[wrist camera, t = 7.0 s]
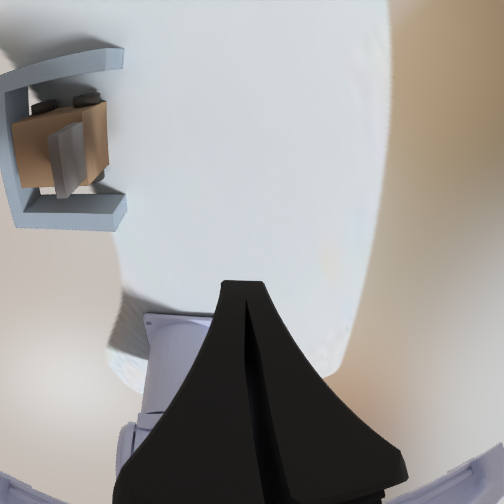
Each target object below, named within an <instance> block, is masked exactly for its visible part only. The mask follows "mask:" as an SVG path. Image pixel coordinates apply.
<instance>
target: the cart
mask: <svg viewBox="0 0 504 504" xmlns="http://www.w3.org/2000/svg"><path fill="white" fill-rule="evenodd" d="M31 110H32V115H30V116H28V117H26V118H23V119H21V120H19V121H17V122H15V123H13V124H11V126H12V135H13V143H14V150H15V156H16V162H17V167H18V173H19V178H20V182H21V187H22V188H35V187H55V191H56V196H57V199H60V198H68V197H69V196H70V195H71V193H72V192H73V191H74V190H75V189H76V188H77V187H78V186H89V185H90V184H92V183H96V182H99V181H101V180H102V179H103V178H104V177H105V175H104V169H105V168H106V167H107V166H108V165H109V156H108V141H107V115H106V101H104V102H100V93H91V94H85V95H80V96H76V97H73V105H72V106H65V107H59V108H55V99H54V100H48V101H44V102H40V103H37V104H34V105H32V106H31Z"/></svg>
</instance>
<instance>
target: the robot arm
mask: <svg viewBox="0 0 504 504" xmlns="http://www.w3.org/2000/svg"><path fill="white" fill-rule="evenodd" d="M143 321H144V326H145V330H146V334H147V338H148V341H149V345H150V354H149V360H148V366H147V373H146V379H145V386H144V393H143V401H142V409H141V413H139V414H138V421H137V424H136V423H135V422H128V424H127V425H125V426H124V427H122V429H121V431H120V435H119V440H118V446H117V455H116V483H115V486H114V490H113V500H112V504H497V503H498V502H499V501H500V500H501V499H502V498H504V448H503V444H502V443H499V444H497V445H495V446H494V447H492V448H490V449H489V450H487V451H486V452H484V453H482V454H480V455H479V456H477V457H475V458H472V459H470V460H468V461H466V462H464V463H462V464H461V465H459V466H457V467H455V468H454V469H452V470H450V471H448V472H447V474H446V475H444V476H442V477H440V478H438V479H436V480H434V481H432V482H430V483H428V484H426V485H424V486H421V487H419V488H417V489H415V490H412V491H410V492H408V493H405V494H403V495H400V496H398V497H395V498H393V499H390V500H387V501H385V502H382V501H381V499H382V498H384V497H385V492H384V489H387V488H390V487H392V486H395V485H398V484H400V483H403V482H405V481H407V479H408V478H409V477H408V473H407V469H406V465H405V462H404V459H403V457H402V454H401V451H400V450H399V449H397V448H396V447H394V446H393V445H392V444H390V443H389V442H388V441H386V440H385V439H384V438H382V437H381V436H380V435H379V434H377V433H376V432H375V431H373V430H372V429H371V428H370V427H369V426H368V425H367V424H365V423H364V422H363V421H362V420H361V419H360V418H358V417H357V416H356V414H354V413H353V412H352V411H351V410H350V409H349V408H348V407H347V406H346V405H345V404H344V403H343V402H342V401H341V400H340V399H339V398H338V397H337V395H336V394H335V393H334V392H333V391H332V390H331V389H330V388H329V386H327V384H326V383H325V382H324V381H323V379H322V378H321V377H320V376H319V374H318V373H317V372H316V371H315V369H314V368H313V367H312V365H311V364H310V363H309V361H308V360H307V359H306V357H305V356H304V354H303V353H302V351H301V350H300V349H299V347H298V346H297V344H296V342H295V341H294V339H293V338H292V336H291V335H290V333H289V331H288V329H287V328H286V326H285V324H284V323H283V321H282V319H281V317H280V316H279V314H278V312H277V310H276V308H275V306H274V304H273V302H272V300H271V298H270V296H269V294H268V291H267V289H266V287H265V284H264V283H263V282H262V281H236V280H224V281H223V282H221V290H220V295H219V299H218V303H217V307H216V310H215V313H214V316H213V318H210V317H192V316H177V315H164V314H152V313H146V314H144V316H143ZM0 504H69V503H67V502H64V501H61V500H59V499H56V498H54V497H51V496H48V495H46V494H44V493H41V492H39V491H37V490H35V489H33V488H32V487H31V486H30V485H28V484H26V483H24V482H22V481H20V480H18V479H16V478H14V477H12V476H10V475H8V474H5V473H3V472H1V471H0Z"/></svg>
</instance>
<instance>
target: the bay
mask: <svg viewBox="0 0 504 504" xmlns="http://www.w3.org/2000/svg"><path fill="white" fill-rule="evenodd" d="M123 57H124V49H120V48H102V49H96V50H90V51H84V52H79V53H74V54H69V55H65V56H61V57H57V58H53V59H49V60H45V61H41V62H38V63H34V64H31V65H28V66H25V67H22V68H19V69H16V70H13V71H10V72H7V73H4V74H2V75H0V168H1V173H2V178H3V182H4V186H5V190H6V195H7V199H8V202H9V206H10V210H11V214H12V217H13V220H14V223H15V227H16V228H36V229H63V230H64V229H65V230H86V231H87V230H88V231H108V232H116V230H117V228H118V226H119V224H120V222H121V221H122V219H123V217H124V215H125V213H126V212H127V206H126V195H125V194H71V195H70V196H69V197H68V198H60V199H57V196H56V194H52V195H41V194H40V190H39V187H35V188H22V187H21V182H20V178H19V173H18V167H17V162H16V156H15V150H14V143H13V135H12V126H11V124H13V123H15V122H17V121H19V120H21V119H23V118H26V117H28V116H29V104H28V86H29V85H32V84H36V83H40V82H44V81H49V80H53V79H58V78H63V77H68V76H73V75H79V74H85V73H92V72H99V71H107V70H114V69H122V68H123Z"/></svg>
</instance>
